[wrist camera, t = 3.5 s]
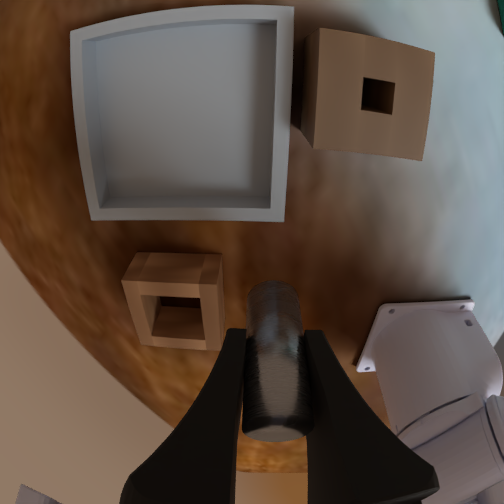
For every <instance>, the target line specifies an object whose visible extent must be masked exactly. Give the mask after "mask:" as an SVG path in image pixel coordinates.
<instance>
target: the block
mask: <svg viewBox="0 0 504 504" xmlns="http://www.w3.org/2000/svg"><path fill="white" fill-rule="evenodd" d="M434 61H435V53H434V52H431V51H428V50H424V49H421V48H418V47H414V46H411V45H407V44H403V43H399V42H395V41H391V40H387V39H383V38H378V37H374V36H369V35H364V34H358V33H353V32H347V31H341V30H334V29H327V28H319V29H317V30H316V31H314V32H313V33H311V34H310V35H309V36H307V37H306V38H305V44H304V71H303V93H302V112H301V129H300V131H301V132H302V133H303V135H304V136H305V138H306V139H307V141H308V142H309V143H310V145H311V146H312V148H313V149H324V150H336V151H347V152H357V153H366V154H375V155H383V156H390V157H398V158H405V159H411V160H418V161H422V158H423V153H424V147H425V141H426V134H427V128H428V121H429V113H430V105H431V96H432V87H433V75H434ZM363 79H364V90H363V102H362V104H361V100H362V88H363Z"/></svg>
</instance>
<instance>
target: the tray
mask: <svg viewBox="0 0 504 504" xmlns="http://www.w3.org/2000/svg"><path fill="white" fill-rule="evenodd" d="M293 37H294V7H291V6H275V5H215V6H199V7H188V8H178V9H170V10H163V11H156V12H149V13H144V14H138V15H133V16H128V17H123V18H118V19H114V20H110V21H105V22H101V23H97V24H94V25H90V26H86V27H83V28H80V29H76V30H73V31H70V63H71V85H72V99H73V110H74V120H75V129H76V137H77V145H78V152H79V159H80V165H81V171H82V177H83V182H84V188H85V193H86V198H87V203H88V207H89V212H90V217H91V221H92V220H218V221H266V222H284V214H285V199H286V185H287V169H288V152H289V134H290V115H291V93H292V68H293Z"/></svg>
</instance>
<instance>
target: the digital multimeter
mask: <svg viewBox="0 0 504 504" xmlns="http://www.w3.org/2000/svg"><path fill="white" fill-rule="evenodd" d="M497 2H498V7H499V12H500V17H501V23H502V28H503V33H504V0H497Z"/></svg>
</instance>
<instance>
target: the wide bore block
mask: <svg viewBox="0 0 504 504" xmlns="http://www.w3.org/2000/svg"><path fill="white" fill-rule="evenodd" d="M121 282H122V285H123V289H124V292H125V296H126V299H127V303H128V306H129V309H130V313H131V316H132V319H133V322H134V325H135V328H136V331H137V334H138V337H139V340H140V343H141V345H149V346H159V347H171V348H183V349H198V350H215V351H221V348H222V342H223V333H224V324H225V309H224V289H223V267H222V254H192V253H152V252H137V253H136V254H135V256H134V258H133V260H132V261H131V263H130V265H129V267H128V269H127V270H126V272H125V274H124V276H123V278H122V280H121ZM160 296H169V297H189V298H200V303H201V308H187V307H169V306H162V305H161V301H160Z"/></svg>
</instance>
